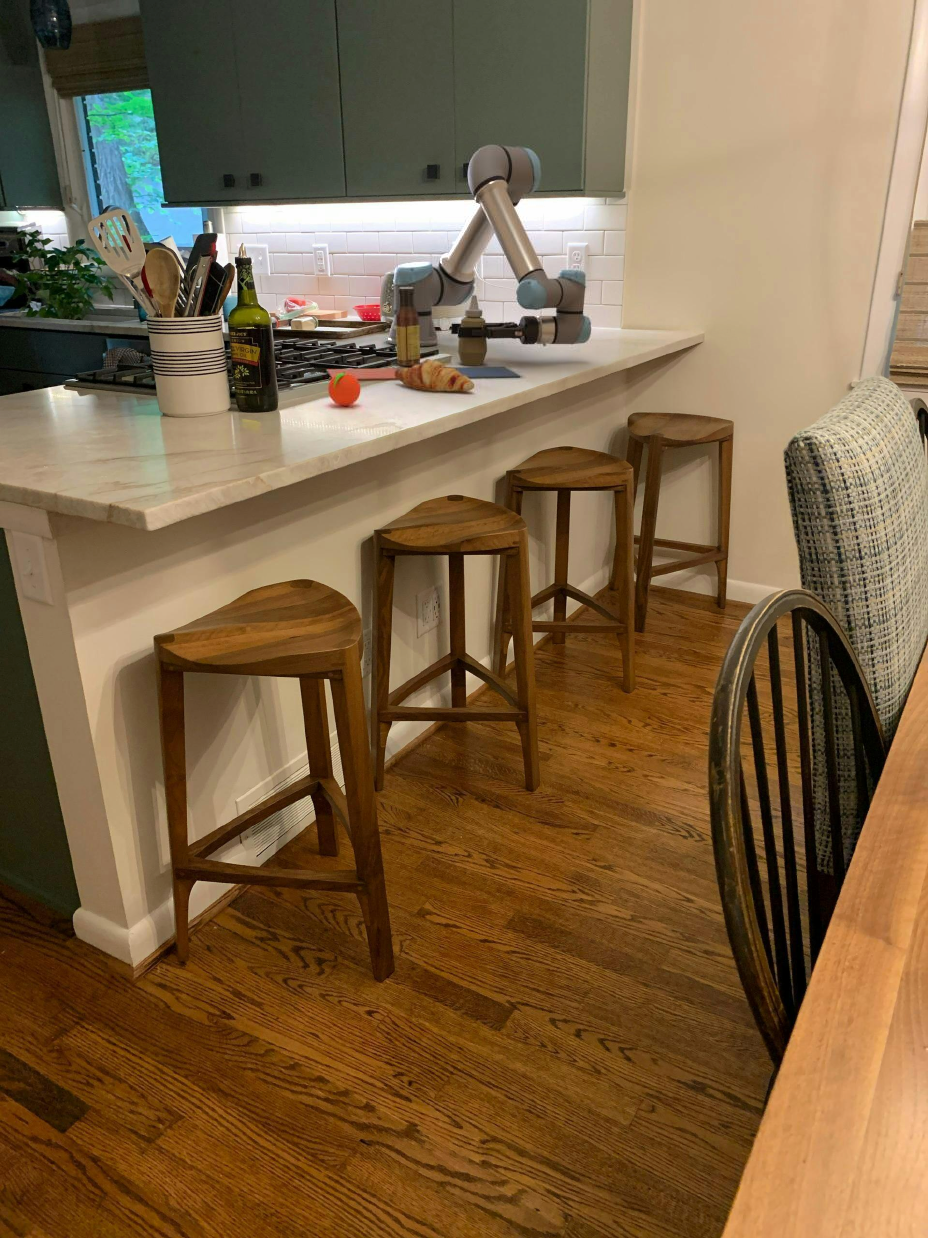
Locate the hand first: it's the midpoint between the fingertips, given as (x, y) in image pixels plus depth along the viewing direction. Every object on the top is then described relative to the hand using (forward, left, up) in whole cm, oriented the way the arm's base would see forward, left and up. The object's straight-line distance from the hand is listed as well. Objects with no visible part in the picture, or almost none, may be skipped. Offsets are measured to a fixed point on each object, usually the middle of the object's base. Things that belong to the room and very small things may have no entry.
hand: (455, 330), depth 252 cm
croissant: (+34, -14, -9) cm, 38 cm away
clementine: (+51, -38, -9) cm, 64 cm away
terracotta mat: (+14, -27, -9) cm, 32 cm away
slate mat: (+14, +3, -9) cm, 17 cm away
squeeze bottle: (0, +5, -9) cm, 10 cm away
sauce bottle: (0, -13, -9) cm, 16 cm away
